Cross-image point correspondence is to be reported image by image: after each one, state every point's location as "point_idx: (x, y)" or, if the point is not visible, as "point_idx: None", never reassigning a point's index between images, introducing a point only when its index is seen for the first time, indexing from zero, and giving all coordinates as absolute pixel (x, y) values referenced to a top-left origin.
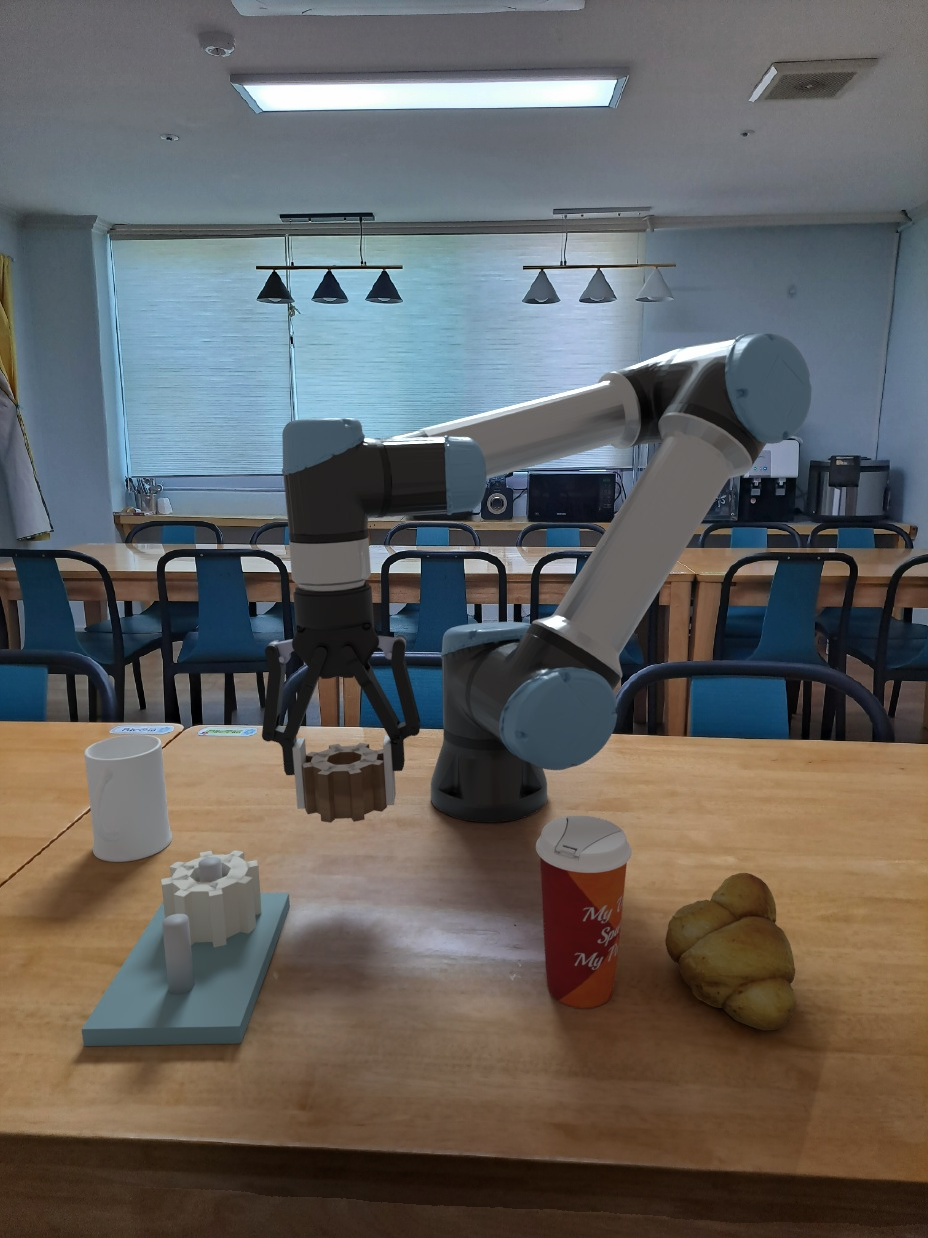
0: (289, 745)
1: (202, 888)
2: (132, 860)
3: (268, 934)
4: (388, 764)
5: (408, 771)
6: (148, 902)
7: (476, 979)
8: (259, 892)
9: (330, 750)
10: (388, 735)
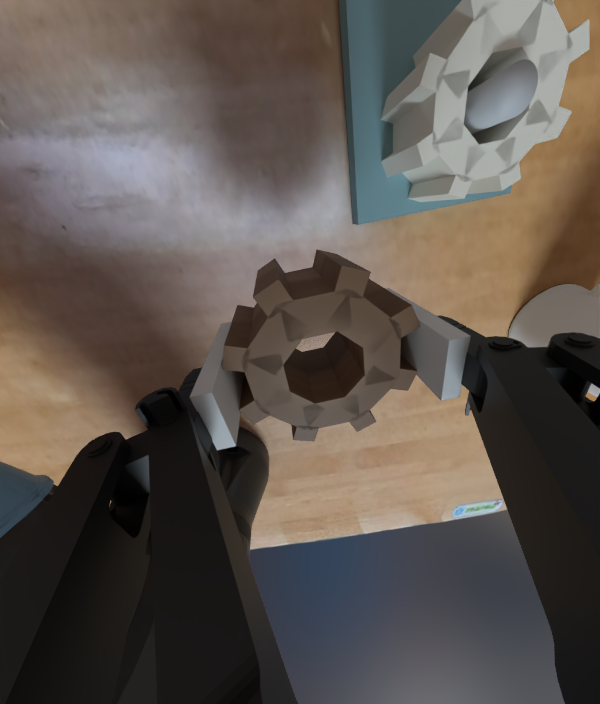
0: (484, 340)
1: (511, 12)
2: (545, 290)
3: (358, 98)
4: (211, 363)
5: (303, 485)
6: (520, 204)
7: (40, 68)
8: (395, 154)
9: (367, 401)
10: (188, 418)
